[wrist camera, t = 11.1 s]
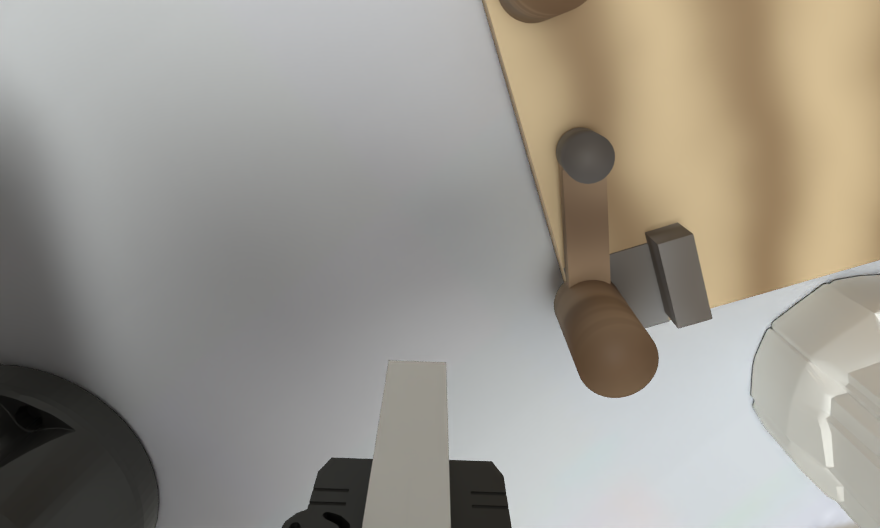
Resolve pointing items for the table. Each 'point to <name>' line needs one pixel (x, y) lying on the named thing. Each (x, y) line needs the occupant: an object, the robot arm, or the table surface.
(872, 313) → the white tall rough piece
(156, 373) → the table surface
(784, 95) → the stool seat
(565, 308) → the hinged leg
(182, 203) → the table surface
